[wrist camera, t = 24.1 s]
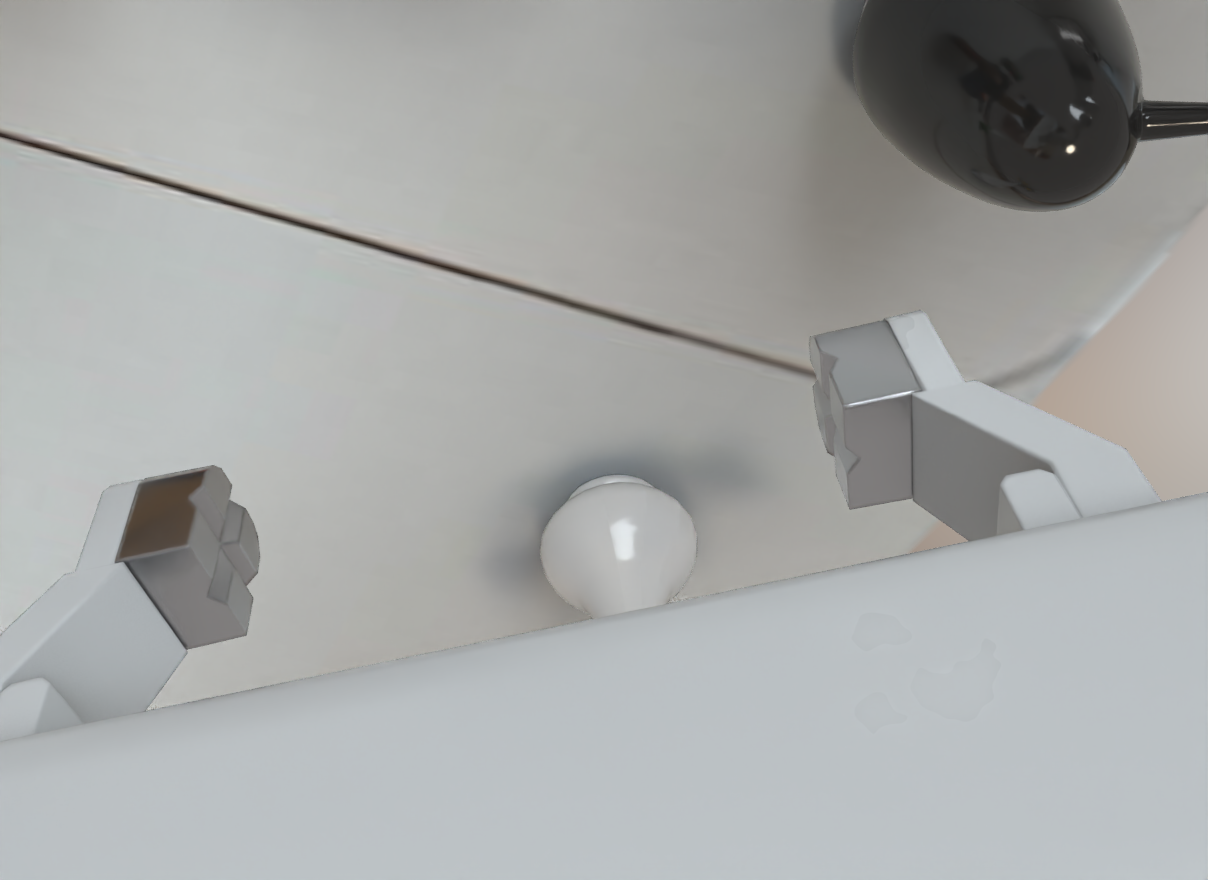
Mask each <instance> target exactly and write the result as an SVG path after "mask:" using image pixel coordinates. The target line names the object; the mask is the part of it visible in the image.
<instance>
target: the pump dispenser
mask: <svg viewBox="0 0 1208 880" xmlns="http://www.w3.org/2000/svg"><path fill="white" fill-rule="evenodd" d="M853 74H854V81H855V86H856V90H857V93H858V96H859V99H860V101H861V103H862V105H863V107H864V109H865V111H866V113H867V115H868V116H869V118H870V119H871V121H872V122H873V124H874V125H875V126H876V128H877V129H878V130H879V131H880V133H881V134H882V135H883V136H884V137H885V138H886V139H887V140H888V141H889V142H890V143H891V144H892V145H893V146H894V147H895V148H896V149H897V150H899V151H900V152H901V153H902V154H903V155H904V156H905V157H907V158H908V159H909V160H910V161H912V162H913V163H914V164H915V165H917V166H918V167H919V168H921V169H922V170H924V171H925V172H926V173H928V174H930V175H931V176H933V177H934V178H936V179H938V180H939V181H941V182H943V183H945V184H947V185H949V186H951V187H953V188H955V189H957V190H959V191H961V192H963V193H965V194H967V195H970V196H972V197H974V198H977V199H979V200H982V201H985V202H987V203H990V204H994V205H997V206H1001V207H1004V208H1009V209H1013V210H1019V211H1029V212H1050V211H1059V210H1065V209H1069V208H1073V207H1076V206H1079V205H1082V204H1084V203H1086V202H1088V201H1090V200H1092V199H1094V198H1096V197H1097V196H1099V195H1101V194H1102V193H1103V192H1105V191H1106V190H1107V189H1108V188H1110V187H1111V186H1112V185H1113V184H1114V183H1115V182H1116V181H1117V179H1118V178H1119V177H1120V176H1121V174H1122V173H1123V171H1124V170H1125V168H1126V166H1127V165H1128V163H1129V161H1130V159H1131V157H1132V155H1133V153H1134V150H1135V148H1136V145H1137V143H1138V142H1143V141H1152V140H1161V139H1171V138H1180V137H1190V136H1200V135H1208V103H1207V102H1174V101H1148V100H1144V98H1143V87H1142V72H1141V66H1140V61H1139V56H1138V52H1137V48H1136V45H1135V41H1134V38H1133V35H1132V32H1131V29H1130V27H1129V24H1128V21H1127V19H1126V17H1125V14H1124V12H1123V10H1122V8H1121V6H1120V4H1119V2H1118V0H866V2H865V5H864V7H863V11H862V14H861V17H860V21H859V25H858V28H857V32H856V36H855V41H854V48H853Z"/></svg>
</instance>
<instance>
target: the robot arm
mask: <svg viewBox="0 0 1208 880" xmlns="http://www.w3.org/2000/svg"><path fill="white" fill-rule="evenodd" d="M809 349H810V361H811V364H812V366H813V369H814V371H815V374H816V376H817V381H816V382H815V384H814V385H813V394H814V403H815V410H816V415H817V420H818V426H819V429H820V432H821V436H822V439H823V442H824V445H825V447H826V450H827V453H829V454H831V455H832V456H834V457H835V468H836V476H837V479H838V481H839V484H840V486H841V489H842V492H843V494H844V497H845V499H846V502H847V504H848V507H849V509H850V510H851V509H856V508H862V507H867V506H873V505H878V504H884V503H889V502H895V501H900V500H906V499H911V498H913V501H914V502H915V503H917V504H918V505H920V506H921V507H922V508H924V509H925V510H927V511H928V512H929V513H931V514H932V515H933V516H935V517H936V518H938V519H939V520H940V521H942V522H943V523H945V524H946V525H947V526H949V527H950V528H952V529H953V530H955V531H956V532H957V533H959V534H960V535H961V536H963V537H964V538H966V539H967V540H968V542H963V543H958V544H953V545H948V546H944V547H939V548H934V549H929V550H925V551H920V552H914V553H910V554H905V555H900V556H895V557H890V558H885V559H880V560H876V561H871V562H866V563H861V564H856V565H852V566H847V567H842V568H837V569H832V570H827V571H823V572H818V573H813V574H808V575H803V576H798V577H794V578H789V579H784V580H779V581H774V582H769V583H764V584H760V585H755V586H750V587H745V588H740V589H735V590H730V591H726V592H721V593H716V594H711V595H706V596H701V597H697V598H692V599H687V600H682V601H677V602H672V603H667V604H663V605H658V606H653V607H648V608H643V609H638V610H633V611H629V612H624V613H619V614H614V615H609V616H604V617H600V618H595V619H590V620H585V621H580V622H575V623H571V624H566V625H561V626H556V627H551V628H547V629H542V630H537V631H532V632H527V633H522V634H518V635H513V636H508V637H503V638H498V639H493V640H488V641H484V642H479V643H474V644H469V645H464V646H459V647H454V648H450V649H445V650H440V651H435V652H430V653H425V654H420V655H416V656H411V657H406V658H401V659H396V660H391V661H386V662H382V663H377V664H372V665H367V666H362V667H357V668H352V669H348V670H343V671H338V672H333V673H328V674H323V675H319V676H314V677H309V678H304V679H299V680H294V681H289V682H285V683H280V684H275V685H270V686H265V687H260V688H255V689H251V690H246V691H241V692H236V693H231V694H226V695H221V696H217V697H212V698H207V699H202V700H197V701H192V702H187V703H183V704H178V705H173V706H168V707H163V708H158V709H153V710H149V711H146V710H147V708H148V707H149V706H150V704H151V703H152V701H153V700H154V699H155V697H156V696H157V694H158V693H159V692H160V690H161V689H162V688H163V686H164V685H165V683H166V682H167V681H168V679H169V678H170V677H171V675H172V674H173V672H174V671H175V670H176V668H177V667H178V666H179V664H180V663H181V661H182V660H183V659H184V657H185V656H186V655H187V653H188V652H187V650H188V649H192V648H196V647H200V646H204V645H209V644H213V643H217V642H221V641H226V640H230V639H234V638H238V637H242V636H247V631H248V625H249V620H250V614H251V609H252V603H253V597H252V595H251V593H250V592H249V590H248V588H247V587H246V586H247V585H248V584H249V582H250V581H251V580H252V579H253V578H254V577H255V576H256V574H257V573H258V568H259V561H260V551H259V541H258V535H257V532H256V529H255V526H254V523H253V521H252V519H251V517H250V515H249V514H248V512H247V510H246V508H244V507H242V506H240V505H238V504H237V503H235V502H233V501H231V500H229V499H230V494H231V489H232V484H231V483H230V481H229V479H228V478H227V476H226V475H225V473H224V472H223V470H222V468H220V467H217V466H214V465H211V466H206V467H201V468H196V469H191V470H186V471H180V472H175V473H170V474H165V475H160V476H154V477H149V478H145V479H144V480H136V481H131V482H126V483H121V484H116V485H111V486H109V487H108V488H107V489H106V490H104V491H103V492H102V494H101V497H100V500H99V503H98V506H97V509H96V512H95V515H94V518H93V520H92V523H91V526H90V529H89V532H88V535H87V538H86V541H85V544H84V547H83V549H82V552H81V555H80V558H79V561H78V564H77V567H76V570H75V572H73V573H68V574H64V575H63V576H62V577H61V578H60V579H59V580H58V581H57V582H56V583H55V584H54V585H53V586H51V587H50V588H49V589H48V590H47V591H46V592H45V593H44V594H43V595H42V596H41V597H40V598H39V599H38V600H37V601H35V602H34V603H33V604H32V605H31V606H30V607H29V608H28V609H27V610H26V611H25V612H24V613H23V614H22V615H21V616H20V617H18V618H17V619H16V620H15V621H14V622H13V623H12V624H11V625H10V626H9V627H8V628H7V629H6V630H5V631H4V632H3V633H1V634H0V880H1208V492H1206V493H1201V494H1195V495H1191V496H1186V497H1181V498H1176V499H1171V500H1167V501H1161V499H1160V498H1159V496H1158V495H1157V493H1156V492H1155V491H1154V489H1153V487H1152V486H1151V485H1150V483H1149V482H1148V480H1147V479H1146V477H1145V476H1144V474H1143V473H1142V471H1141V470H1140V468H1139V467H1138V466H1137V464H1136V463H1135V461H1134V460H1133V458H1132V457H1131V455H1130V454H1129V453H1128V451H1127V450H1126V449H1125V448H1123V447H1121V446H1119V445H1117V444H1114V443H1112V442H1110V441H1108V440H1106V439H1103V438H1101V437H1099V436H1097V435H1095V434H1093V433H1090V432H1088V431H1086V430H1084V429H1082V428H1080V427H1077V426H1075V425H1073V424H1071V423H1069V422H1066V421H1064V420H1062V419H1060V418H1057V417H1055V416H1053V415H1051V414H1049V413H1047V412H1044V411H1042V410H1040V409H1038V408H1036V407H1034V406H1031V405H1029V404H1027V403H1025V402H1023V401H1021V400H1018V399H1016V398H1014V397H1012V396H1010V395H1007V394H1005V393H1003V392H1001V391H999V390H996V389H994V388H992V387H990V386H988V385H986V384H983V383H981V382H979V381H977V380H974V381H969V382H965V381H964V379H963V377H962V375H961V374H960V372H959V370H958V368H957V367H956V365H955V363H954V361H953V360H952V358H951V356H950V354H949V353H948V351H947V349H946V348H945V346H944V344H943V342H942V341H941V339H940V337H939V335H938V334H937V332H936V330H935V328H934V327H933V325H932V323H931V321H930V320H929V318H928V316H927V314H926V313H925V312H923V311H921V310H918V311H914V312H910V313H906V314H901V315H897V316H893V317H889V318H885V319H884V320H882V321H877V322H872V323H868V324H863V325H859V326H854V327H850V328H845V329H841V330H836V331H832V332H827V333H823V334H818V335H814V336H810V342H809Z"/></svg>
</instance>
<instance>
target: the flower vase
mask: <svg viewBox="0 0 1208 880" xmlns="http://www.w3.org/2000/svg"><path fill="white" fill-rule="evenodd" d="M540 557H541V563H542V568H543V571H544V573H545V575H546V577H547V579H548V581H549V582H550V584H551V586H552V587H553V589H554V591H555V592H556V593H557V594H558V595H559V596H560V597H561V598H563V599H564V600H565V601H566V602H567V603H568V604H570V605H571V606H572V607H574V608H576V609H578V610H580V611H582V612H584V613H586V614H588V615H590V617H591V618H592V619H595V618H600V617H604V616H609V615H614V614H619V613H624V612H629V611H633V610H638V609H643V608H648V607H653V606H658V605H663V604H667V603H668V602H669V601H670V600H671V599H672V598H674V597H675V596H676V595H677V594H678V593H679V591H680V590H681V589H682V587H683V586H684V584H685V583H686V582H687V580H688V579H689V577H690V575H691V573H692V570H693V567H694V564H695V561H696V557H697V531H696V528H695V526H694V523H693V521H692V519H691V516H690V514H689V513H688V512H687V511H686V509H685V508H684V507H683V506H682V505H681V504H680V503H679V502H678V501H677V500H676V499H675V498H673V497H671V496H670V495H668V494H666V493H664V492H663V491H661V490H659V489H657V488H654V487H653V486H652V485H651V484H649V483H648V482H646V481H644V480H642V479H640V478H637V477H633V476H630V475H617V474H616V475H608V476H602V477H599V478H596V479H593V480H590V481H588V482H587V483H585V484H583V485H581V486H580V487H579V488H577V489H576V490H575V491H574V492H573V493H572V494H571V496H570V497H569V499H568V500H567V502H566V503H565V504H564V505H562V506H561V507H560V508H559V509H558V510H557V511H556V512H555V513H554V515H553V516H552V518H551V519H550V521H549V523H548V524H547V526H546V528H545V529H544V532H543V535H542V540H541V545H540Z"/></svg>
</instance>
